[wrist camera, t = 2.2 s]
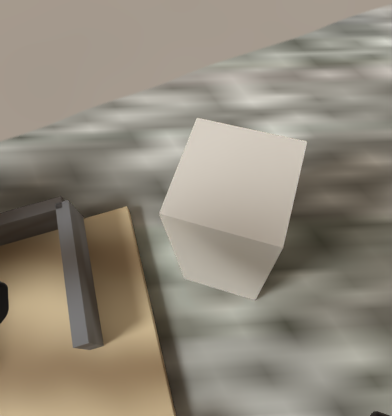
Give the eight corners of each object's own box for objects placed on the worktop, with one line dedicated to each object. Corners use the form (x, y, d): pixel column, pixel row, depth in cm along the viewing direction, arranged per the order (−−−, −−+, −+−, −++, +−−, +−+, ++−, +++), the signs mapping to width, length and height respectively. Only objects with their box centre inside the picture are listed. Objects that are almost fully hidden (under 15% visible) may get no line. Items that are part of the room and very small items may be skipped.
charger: (255, 300, 21) (283, 247, 12) (184, 278, 21) (159, 213, 12) (272, 231, 22) (307, 138, 13) (206, 213, 23) (197, 114, 14)
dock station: (205, 545, 16) (201, 595, 12) (-75, 645, 15) (-166, 729, 12) (128, 204, 24) (111, 175, 20) (-61, 257, 23) (-112, 238, 19)
